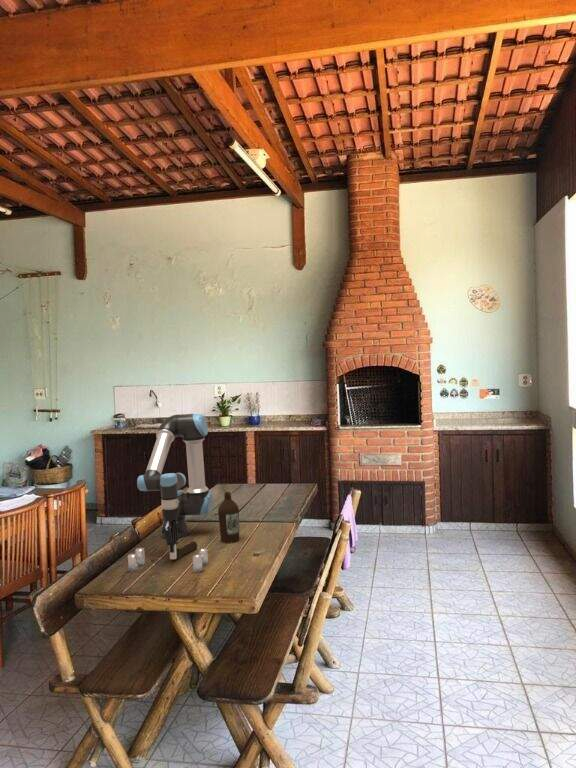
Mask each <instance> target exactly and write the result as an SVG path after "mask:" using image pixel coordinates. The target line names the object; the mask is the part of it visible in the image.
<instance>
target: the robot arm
mask: <svg viewBox="0 0 576 768" xmlns="http://www.w3.org/2000/svg"><path fill="white" fill-rule="evenodd" d="M208 433H209V428H208V422H207V419H206V416H205V415H204V414H202V413H185V414H184V413H183V414H173V415H170V416H168V417H167V418H166V419H165V420H163V422H161V424H160V425H159V426H158V429H157V430H156V433H155V434H156V435H155V437H156V441H155V443H154V446H153V449H152V452H151V454H150V455H151V456H150V458H149V460H148V464H147V467H146V470H145V473H144V474H142V475H139V476H138V477H137V480H136V481H137V482H136V486H137V489H138V490H139V491H140V492H141V491H142V492H155V491H156V492H158V491H159V492H160V496H161V499H160V500H161V509H162V510H161V512H162V513H161V515H162V517H163V520H162V521H163V522H162V524H161V530H160V537H161V538H162V539H166V546H168V547H169V549H168V550H169V559H170V560H171V559H176V558H177V553H176V549H177V544H179V542H178V541H179V540H178V539H180V538H185V537H187V536H189V535H190V527H189V525H188V522H187V519H186V516H205V515H206V516H207V515H209V514H210V513H211V511H212V507H213V502H214V501H213V499H214V497H213V496H214V495H213V493H212V492H211V491H209V487H208V486H206V478H205V475H206V474H205V463H204V450H203V449H204V447H203V441H204V440H205V438H206V436H207V435H208ZM177 437H180V438H181V437H182V441H183V442H184V443H185V448H186V460H187V461H186V463H187V475H188V476H187V477H188V478H187V479H188V488H187V489H186V492H185V491H184V490H183V489H182V488H183V487H184V486H185V485H186V483H187V479H186V476H185V474H183V473H182V472H176V473H174V472H170V473H164V474H162V473H163V469H164V466H165V463H166V460H167V457H168V454H169V451H170V448H171V444H172V442H174V440H175V438H177Z"/></svg>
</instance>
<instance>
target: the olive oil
mask: <svg viewBox="0 0 576 768" xmlns="http://www.w3.org/2000/svg"><path fill="white" fill-rule="evenodd" d="M223 496H224V500H223V501H221V503H220V504H219V506H218V509H217V514H218V523H219V535H220V542H221V541H222V543H223V542H225V543H224V544H231V543H230V542H233V543H236V541H237V542H238V541H239V540H240V508H239V505H238V504H237V503H236V502H235V501H234V500H233V499H232V495H231V490H226V491H224V493H223Z"/></svg>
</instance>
